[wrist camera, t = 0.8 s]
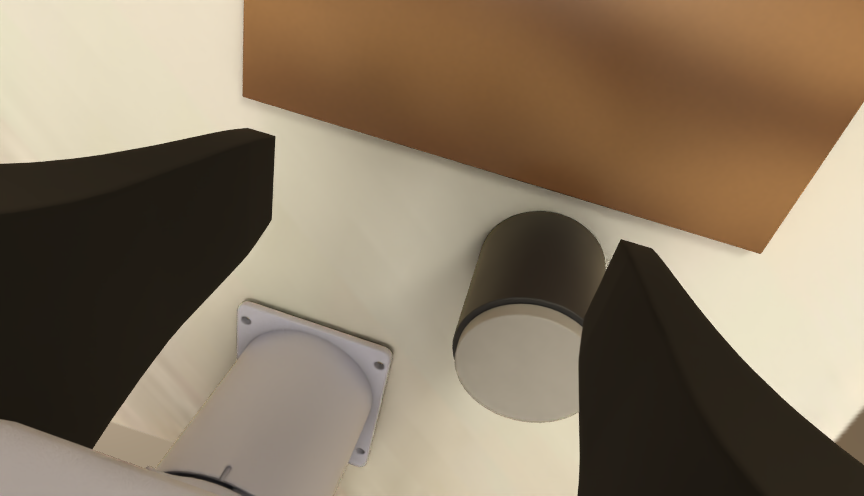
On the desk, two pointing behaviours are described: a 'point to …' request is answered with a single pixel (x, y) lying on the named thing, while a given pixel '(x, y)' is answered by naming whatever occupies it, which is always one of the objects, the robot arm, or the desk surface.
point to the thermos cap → (528, 316)
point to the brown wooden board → (585, 93)
